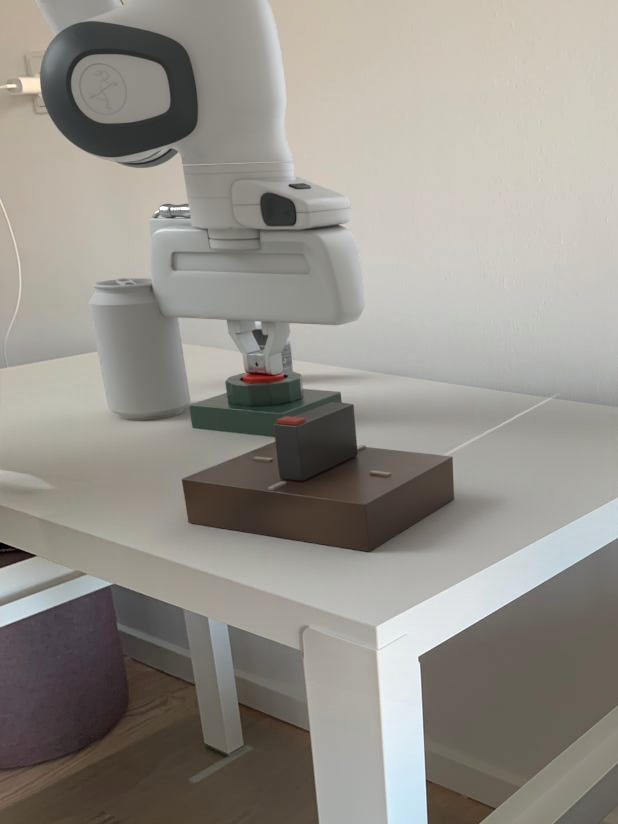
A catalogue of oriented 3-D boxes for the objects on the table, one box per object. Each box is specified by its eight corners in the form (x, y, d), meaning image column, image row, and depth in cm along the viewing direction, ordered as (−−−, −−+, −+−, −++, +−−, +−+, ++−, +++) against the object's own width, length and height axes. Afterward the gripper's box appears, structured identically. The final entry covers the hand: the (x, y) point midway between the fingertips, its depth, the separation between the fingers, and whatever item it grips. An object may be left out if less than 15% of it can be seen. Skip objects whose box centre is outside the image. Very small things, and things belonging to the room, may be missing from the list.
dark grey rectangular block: (335, 452, 69) (330, 398, 67) (358, 455, 68) (353, 400, 67) (279, 478, 64) (272, 420, 62) (302, 481, 63) (296, 422, 61)
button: (236, 396, 88) (234, 376, 88) (261, 388, 91) (259, 369, 91) (269, 399, 87) (267, 379, 86) (294, 391, 90) (292, 371, 89)
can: (130, 427, 90) (104, 286, 85) (97, 413, 95) (71, 280, 90) (206, 412, 94) (186, 278, 89) (170, 400, 100) (150, 272, 94)
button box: (192, 429, 89) (185, 383, 87) (255, 407, 96) (250, 364, 94) (284, 439, 85) (278, 391, 83) (343, 415, 92) (339, 371, 90)
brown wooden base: (188, 522, 66) (180, 476, 64) (288, 477, 75) (283, 435, 73) (369, 552, 60) (365, 501, 59) (454, 499, 69) (452, 453, 67)
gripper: (120, 205, 84) (149, 372, 90) (323, 204, 76) (340, 388, 82) (172, 201, 89) (196, 360, 95) (367, 199, 81) (380, 373, 87)
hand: (264, 373), depth 89 cm, fingers closed, pressing on button
